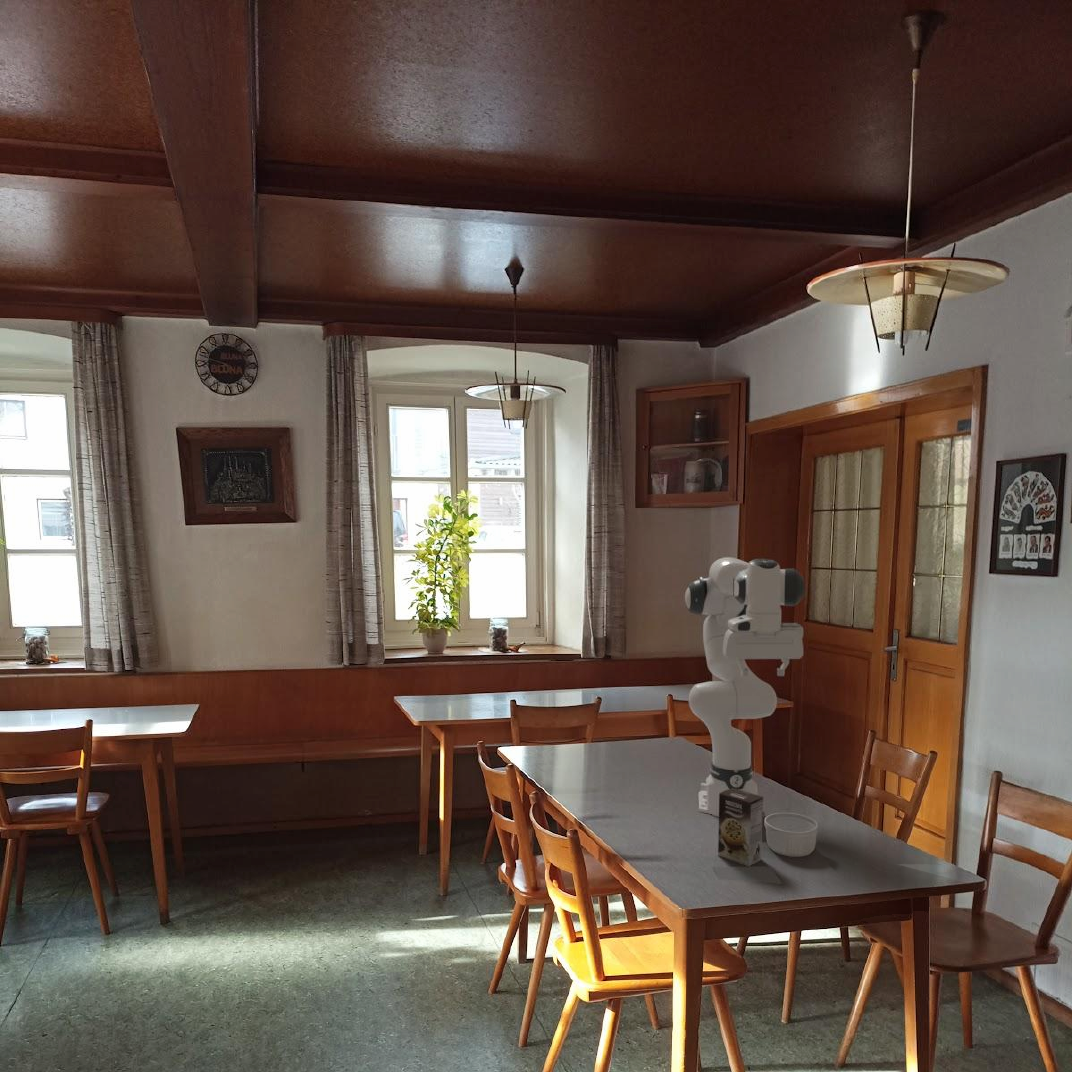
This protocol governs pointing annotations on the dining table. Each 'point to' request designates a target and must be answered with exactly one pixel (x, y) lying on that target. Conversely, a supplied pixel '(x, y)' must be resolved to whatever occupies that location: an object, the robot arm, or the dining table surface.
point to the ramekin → (791, 834)
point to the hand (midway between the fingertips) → (762, 675)
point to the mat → (747, 874)
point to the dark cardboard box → (740, 826)
